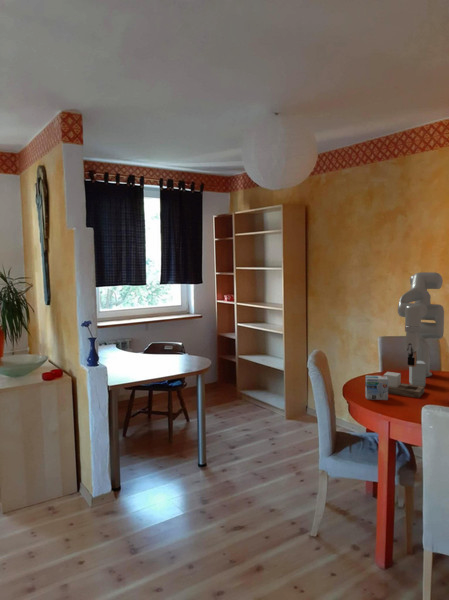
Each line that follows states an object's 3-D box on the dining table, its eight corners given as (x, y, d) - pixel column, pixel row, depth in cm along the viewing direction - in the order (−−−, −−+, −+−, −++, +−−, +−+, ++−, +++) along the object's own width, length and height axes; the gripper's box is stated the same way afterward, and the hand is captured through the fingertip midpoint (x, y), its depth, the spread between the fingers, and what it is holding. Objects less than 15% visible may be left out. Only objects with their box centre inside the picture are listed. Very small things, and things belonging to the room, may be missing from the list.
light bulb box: (366, 399, 231) (366, 378, 230) (364, 395, 238) (364, 375, 237) (388, 400, 229) (389, 379, 228) (386, 396, 236) (386, 375, 235)
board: (385, 386, 253) (385, 381, 252) (424, 392, 241) (424, 386, 241) (378, 391, 243) (379, 386, 243) (419, 398, 231) (419, 392, 231)
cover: (387, 382, 249) (387, 371, 249) (400, 384, 245) (400, 373, 245) (383, 385, 244) (383, 374, 243) (397, 387, 240) (397, 376, 239)
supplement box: (425, 386, 251) (426, 363, 250) (411, 385, 253) (411, 363, 251) (422, 382, 258) (423, 360, 257) (408, 382, 260) (409, 360, 258)
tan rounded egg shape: (408, 364, 240) (409, 351, 240) (416, 365, 238) (417, 352, 237) (406, 366, 237) (407, 352, 236) (415, 367, 235) (415, 353, 234)
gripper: (409, 326, 245) (408, 360, 246) (400, 330, 231) (400, 366, 233) (424, 327, 240) (423, 361, 242) (416, 332, 227) (415, 368, 228)
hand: (412, 363), depth 237 cm, fingers closed on tan rounded egg shape, 4 cm apart
